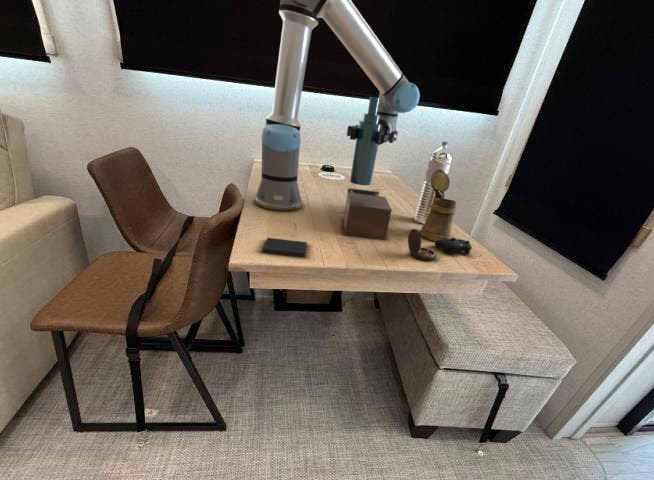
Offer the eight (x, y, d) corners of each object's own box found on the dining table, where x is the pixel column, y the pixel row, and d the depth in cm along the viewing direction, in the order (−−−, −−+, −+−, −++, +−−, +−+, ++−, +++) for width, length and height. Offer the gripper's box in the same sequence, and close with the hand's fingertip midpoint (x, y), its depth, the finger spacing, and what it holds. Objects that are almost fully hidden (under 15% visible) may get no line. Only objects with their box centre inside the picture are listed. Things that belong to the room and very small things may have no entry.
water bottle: (428, 226, 108) (453, 144, 95) (409, 220, 112) (431, 140, 98) (436, 222, 113) (460, 143, 100) (417, 216, 117) (438, 139, 103)
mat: (267, 241, 83) (267, 237, 83) (306, 245, 83) (307, 242, 83) (262, 252, 77) (262, 248, 77) (304, 257, 78) (304, 253, 77)
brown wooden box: (343, 219, 105) (347, 192, 100) (379, 223, 105) (385, 196, 101) (344, 234, 93) (349, 204, 89) (385, 239, 94) (391, 209, 89)
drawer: (344, 204, 117) (347, 184, 113) (373, 207, 117) (377, 188, 113) (346, 219, 102) (349, 197, 99) (379, 223, 103) (383, 201, 99)
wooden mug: (436, 227, 109) (454, 170, 99) (454, 243, 97) (476, 180, 88) (411, 225, 107) (426, 167, 98) (426, 241, 96) (446, 177, 86)
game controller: (461, 242, 96) (475, 233, 90) (464, 259, 95) (478, 252, 89) (432, 241, 94) (444, 233, 88) (435, 259, 93) (447, 252, 87)
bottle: (349, 179, 101) (362, 95, 90) (369, 181, 102) (385, 99, 90) (350, 183, 96) (364, 95, 84) (371, 186, 96) (388, 99, 84)
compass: (440, 261, 84) (449, 235, 80) (411, 260, 83) (419, 233, 79) (426, 248, 91) (434, 223, 87) (400, 247, 89) (406, 222, 86)
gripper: (405, 149, 107) (397, 157, 88) (348, 139, 111) (328, 145, 92) (411, 123, 103) (404, 125, 84) (352, 114, 107) (332, 115, 88)
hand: (364, 136), depth 88 cm, fingers closed on bottle, 6 cm apart
